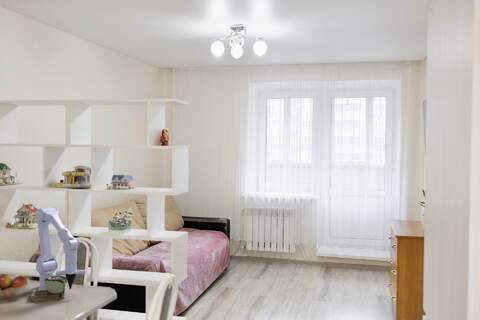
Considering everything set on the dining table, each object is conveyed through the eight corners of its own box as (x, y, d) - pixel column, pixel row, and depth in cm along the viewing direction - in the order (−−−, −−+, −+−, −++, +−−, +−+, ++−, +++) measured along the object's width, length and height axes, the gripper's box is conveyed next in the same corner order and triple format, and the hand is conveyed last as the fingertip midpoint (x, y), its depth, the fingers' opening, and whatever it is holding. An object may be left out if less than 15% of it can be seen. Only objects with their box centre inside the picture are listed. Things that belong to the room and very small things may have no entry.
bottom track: (33, 295, 245) (33, 289, 244) (60, 293, 249) (60, 287, 249) (31, 301, 234) (31, 295, 234) (59, 300, 238) (59, 294, 238)
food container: (72, 295, 245) (71, 276, 245) (64, 299, 239) (64, 280, 239) (51, 292, 249) (51, 274, 248) (44, 296, 243) (43, 277, 242)
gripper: (55, 265, 238) (54, 291, 239) (85, 263, 243) (85, 289, 243) (56, 261, 245) (55, 287, 245) (85, 260, 250) (85, 285, 250)
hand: (70, 288), depth 245 cm, fingers closed
